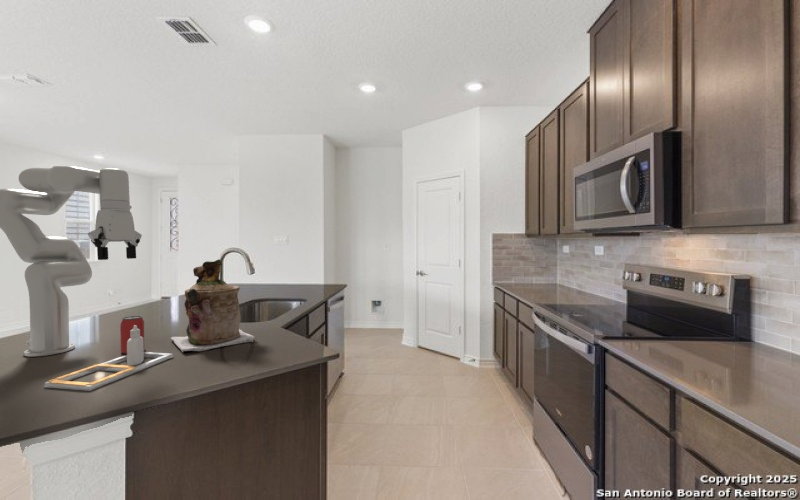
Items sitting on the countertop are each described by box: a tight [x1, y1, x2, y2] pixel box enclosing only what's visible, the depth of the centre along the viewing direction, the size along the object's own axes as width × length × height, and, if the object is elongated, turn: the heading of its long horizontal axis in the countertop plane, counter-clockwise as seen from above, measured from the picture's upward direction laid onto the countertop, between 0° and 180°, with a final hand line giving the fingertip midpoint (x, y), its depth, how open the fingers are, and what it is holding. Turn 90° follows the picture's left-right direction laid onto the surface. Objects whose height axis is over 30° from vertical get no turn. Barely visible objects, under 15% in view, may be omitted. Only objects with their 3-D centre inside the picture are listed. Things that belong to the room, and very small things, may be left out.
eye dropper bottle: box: [126, 325, 145, 366], centre depth 109 cm, size 4×6×12 cm
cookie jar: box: [170, 258, 255, 353], centre depth 133 cm, size 25×25×32 cm
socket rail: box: [44, 351, 174, 392], centre depth 103 cm, size 14×26×1 cm, turn 171°
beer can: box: [119, 315, 145, 355], centre depth 121 cm, size 7×7×12 cm
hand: (117, 259), depth 113 cm, fingers open, 9 cm apart
